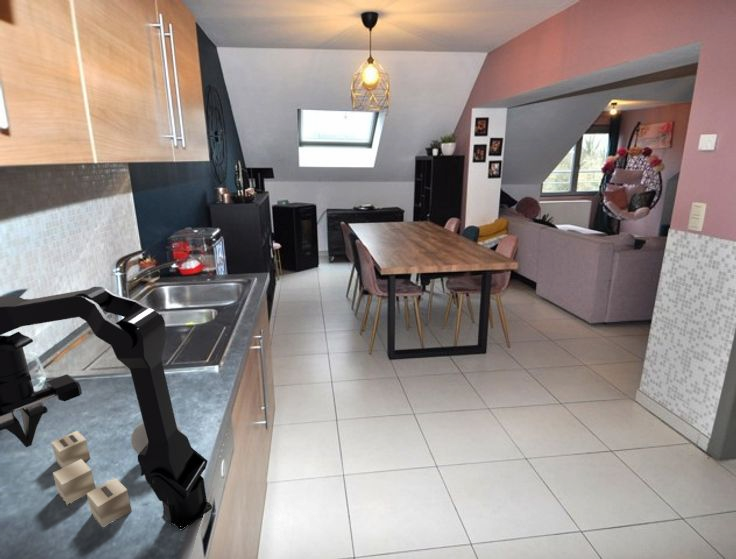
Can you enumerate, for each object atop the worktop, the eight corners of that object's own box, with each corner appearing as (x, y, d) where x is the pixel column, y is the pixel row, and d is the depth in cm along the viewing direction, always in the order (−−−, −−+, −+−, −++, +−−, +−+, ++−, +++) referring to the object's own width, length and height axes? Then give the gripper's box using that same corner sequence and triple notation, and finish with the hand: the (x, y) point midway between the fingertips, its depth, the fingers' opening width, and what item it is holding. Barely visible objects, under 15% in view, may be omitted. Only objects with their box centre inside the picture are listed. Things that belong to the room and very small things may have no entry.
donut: (185, 448, 98) (179, 410, 95) (183, 458, 95) (176, 419, 92) (137, 455, 95) (129, 417, 93) (133, 466, 92) (125, 426, 89)
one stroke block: (120, 498, 84) (115, 477, 82) (131, 511, 81) (127, 489, 80) (91, 515, 80) (86, 492, 79) (103, 529, 77) (97, 506, 76)
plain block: (86, 478, 89) (81, 458, 88) (96, 490, 86) (91, 469, 85) (58, 493, 85) (52, 472, 84) (67, 506, 82) (62, 484, 81)
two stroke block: (81, 449, 98) (77, 430, 96) (90, 458, 95) (85, 439, 93) (56, 461, 94) (51, 441, 92) (64, 471, 91) (59, 451, 90)
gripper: (53, 339, 86) (69, 406, 91) (-77, 377, 72) (-50, 454, 77) (74, 355, 80) (90, 427, 84) (-64, 400, 66) (-35, 483, 70)
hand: (28, 445), depth 79 cm, fingers closed
